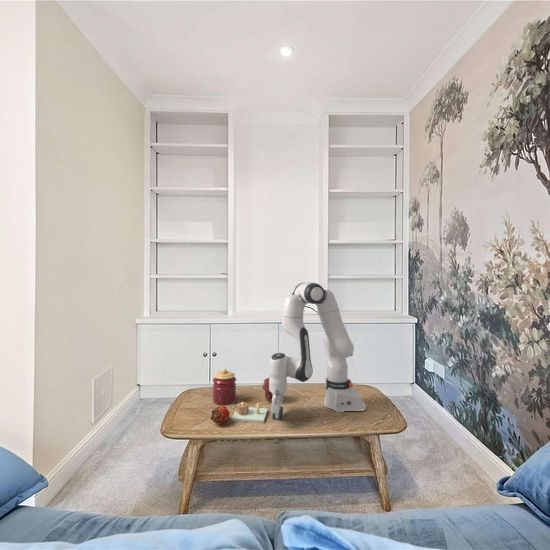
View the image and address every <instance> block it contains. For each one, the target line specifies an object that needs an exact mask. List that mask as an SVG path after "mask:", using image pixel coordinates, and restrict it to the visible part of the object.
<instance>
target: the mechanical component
mask: <svg viewBox="0 0 550 550" xmlns="http://www.w3.org/2000/svg"><path fill="white" fill-rule="evenodd" d="M269 379H270V377H266V378H265V379H264V380H263V385H262V390H263V391H264V392H265V395H264V399H265V400H267V401H269V403H271V404H272V397H273V394H272V392H270V391H269Z"/></svg>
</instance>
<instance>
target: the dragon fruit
mask: <svg viewBox="0 0 550 550" xmlns="http://www.w3.org/2000/svg"><path fill="white" fill-rule="evenodd" d="M229 417H230V411H229V409H228V408H227V406H225V405H219V406H216V407H215V408H214V410H212V411H211V417H210V420H212V421H213V423H215V424H218V425H221V424H223V423H227V422H228V419H229Z"/></svg>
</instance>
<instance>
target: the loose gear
mask: <svg viewBox="0 0 550 550" xmlns="http://www.w3.org/2000/svg"><path fill="white" fill-rule="evenodd" d="M271 414H272V415H271V419H272V420H275V421H276V420H277V421H282V420H283V418H284V407H283V406H281V408H280V411H279V417H278V418H275V413H272V412H271Z"/></svg>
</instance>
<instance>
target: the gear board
mask: <svg viewBox="0 0 550 550" xmlns="http://www.w3.org/2000/svg"><path fill="white" fill-rule="evenodd" d="M260 405H261V404H260V403H259V402H257V403H256V406H255V407H253V406H249V404H248V403H247V402H245V401H242V402H238V403H236V406H235V407H236V408H235V411H234V413H233V414H232V416H231V419H230V421H232V422H233V421H235V422H248V423H262V424H265V421H266V417H267V414H268V411H269V408H264V407H260Z"/></svg>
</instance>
